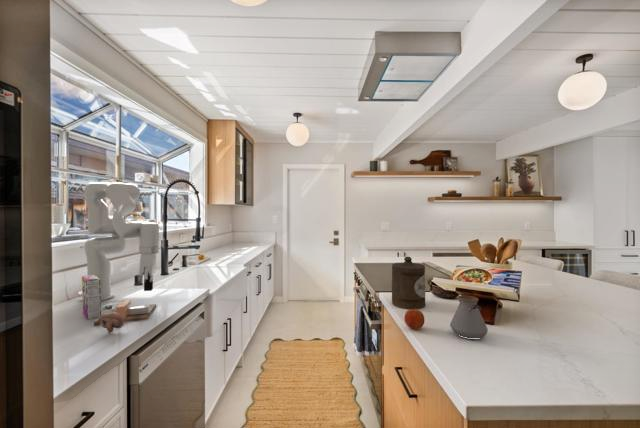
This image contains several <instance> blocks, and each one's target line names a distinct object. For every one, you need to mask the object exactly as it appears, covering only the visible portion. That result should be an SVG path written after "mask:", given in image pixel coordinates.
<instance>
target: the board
mask: <svg viewBox="0 0 640 428" xmlns="http://www.w3.org/2000/svg"><path fill="white" fill-rule="evenodd" d="M148 305H149V304H142V305H140V306H148ZM150 305H151V311H150V312H149V313H147V314H136V315H127V317H126V318H124V323H129V322H130V323H131V322H138V321H146V320H148V319H149V318H150V316H151V315H152V313H153V312H154V311H155V309H156V307H157V303H154V304H153V303H152V304H150ZM136 306H137V305H133V306H130V307H136ZM93 322H94V323H93V326H94V327H95V326H102V325H101V324H100V323H99V318H98V319H97V320H95V321H93Z"/></svg>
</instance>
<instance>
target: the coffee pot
mask: <svg viewBox="0 0 640 428" xmlns="http://www.w3.org/2000/svg"><path fill="white" fill-rule="evenodd" d="M456 299H457V300H458V302H459V304H458V306H457V309H456V311H455V313H454V315H453V316H452V318H451V319H452V320H451V321H450V323H449V326H450V328H451V330H452V331H453V333H455V334H456V335H457V334H458V335H460V336H463V337H467V338H481V337H482V338H484V337H485V336H486V335H487V333H488V327H487V325H486V322H485V320H484V318H483V316H482V314H481V312H480V311H481V308H480V306H479V305H478V302H479V299H480V298H478V297H476V296H473V295H472V296H471V295H465V294H464V295H458V296H457V297H456ZM478 307H479V308H478ZM458 335H457V336H458ZM482 338H481V339H482Z"/></svg>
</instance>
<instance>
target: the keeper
mask: <svg viewBox="0 0 640 428" xmlns="http://www.w3.org/2000/svg"><path fill="white" fill-rule="evenodd" d="M131 303H132V300H125V301H122V302H120V303H119V304H118V305H117V306H115V307H116V312H117V313H118V314H120V315H121V316H122V317H123V319H124V318H126V317H127V307H129V306H130V304H131Z"/></svg>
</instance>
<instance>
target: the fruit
mask: <svg viewBox="0 0 640 428" xmlns="http://www.w3.org/2000/svg"><path fill="white" fill-rule="evenodd" d="M414 308H415V307H414ZM403 319H404V323H405V325H406V326H407V327H408V328H410V329H411V330H414V329H415V331H417V330H419V329H421V328H422V327H423V326H424V325H425V315H424V313H423V312H422V311H421V310H419V309H407V310H406V312H405V314H404V318H403Z"/></svg>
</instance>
